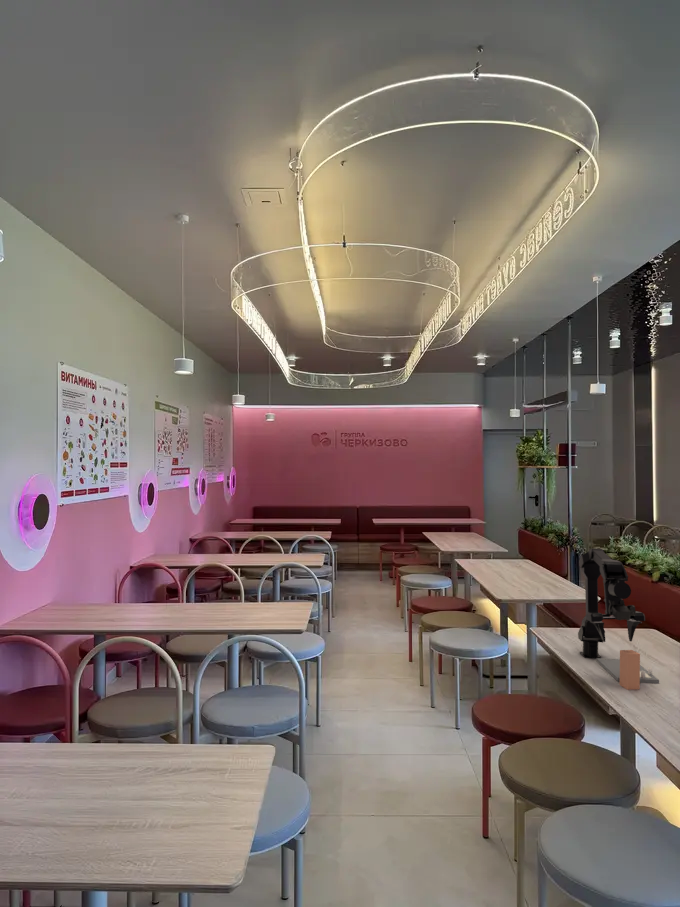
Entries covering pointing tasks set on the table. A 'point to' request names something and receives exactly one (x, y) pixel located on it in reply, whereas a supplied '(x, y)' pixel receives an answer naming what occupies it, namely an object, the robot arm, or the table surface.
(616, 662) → the base plate
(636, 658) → the terracotta block
